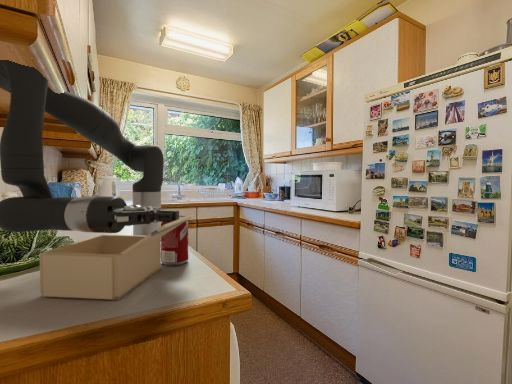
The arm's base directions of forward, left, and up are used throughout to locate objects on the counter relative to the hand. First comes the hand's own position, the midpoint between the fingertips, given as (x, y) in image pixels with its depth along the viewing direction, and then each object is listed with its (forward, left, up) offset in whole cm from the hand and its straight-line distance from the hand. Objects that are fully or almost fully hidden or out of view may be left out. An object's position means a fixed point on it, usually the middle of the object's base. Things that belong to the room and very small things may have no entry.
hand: (177, 216), depth 55 cm
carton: (-6, -14, -14) cm, 21 cm away
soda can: (-16, -1, -14) cm, 21 cm away
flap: (-3, -7, -6) cm, 10 cm away
